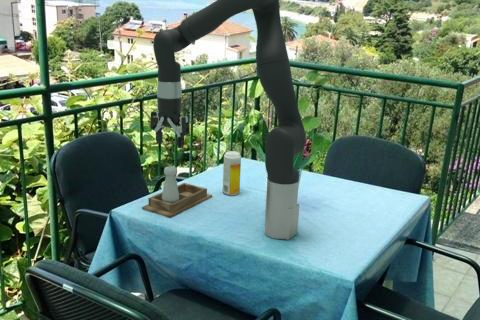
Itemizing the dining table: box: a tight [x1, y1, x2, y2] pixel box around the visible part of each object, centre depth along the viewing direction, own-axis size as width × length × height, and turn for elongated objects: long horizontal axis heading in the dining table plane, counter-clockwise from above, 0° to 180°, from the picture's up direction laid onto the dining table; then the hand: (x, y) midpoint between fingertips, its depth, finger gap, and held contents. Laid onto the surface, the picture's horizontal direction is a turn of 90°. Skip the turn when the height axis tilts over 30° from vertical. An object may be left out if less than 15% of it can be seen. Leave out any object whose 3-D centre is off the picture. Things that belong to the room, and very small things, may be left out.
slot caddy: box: [141, 182, 213, 219], centre depth 175 cm, size 12×23×4 cm, turn 148°
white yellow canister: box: [222, 150, 242, 197], centre depth 184 cm, size 6×6×15 cm
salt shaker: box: [161, 165, 179, 204], centre depth 169 cm, size 6×6×13 cm
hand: (169, 145), depth 165 cm, fingers open, 8 cm apart
